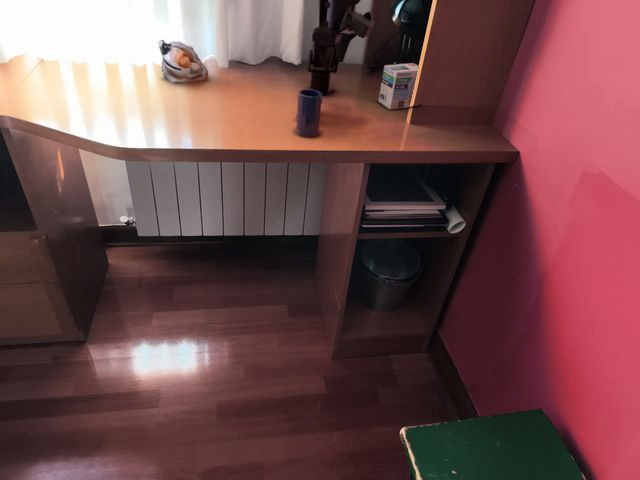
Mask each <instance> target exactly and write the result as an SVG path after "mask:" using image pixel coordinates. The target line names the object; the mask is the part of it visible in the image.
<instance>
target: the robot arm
mask: <svg viewBox="0 0 640 480" xmlns="http://www.w3.org/2000/svg"><path fill="white" fill-rule="evenodd" d="M361 1H362V0H317V1H316V2H317V3H316V4H317V6H316V9H317V10H316V27H315V28H313V29H312V31H311V32H310V42H311V43H310V49H309V50H308V53H307V55H306V65H305V66H306V70H307V72H308V73H311V74H310V86H309V87H307V88H306V89H314V90H318V91H320V92H321V93H322V96H327V95H328V94H329V93H331V92H332V91H334V88H333V87H330V83H331V74H336V73H337V72H338V68H339V63H344V60H345V57H346V56H347V55H346V54H347V51H348V49H349V47H350V45H351V42H352V40H353V39H355V38H356V37H359V38H361V39H365V38H366V37H369V35H370V33H371V31H372V29H373V28H374V27H375V20H374V13H372V12H370V11H366V12H365V13H363V14H362V12H360V13H359V12H358V11H356V8H357V7H356V6H357V5H358V4H359V3H360V2H361Z"/></svg>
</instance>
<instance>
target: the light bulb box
mask: <svg viewBox="0 0 640 480" xmlns="http://www.w3.org/2000/svg"><path fill="white" fill-rule="evenodd" d="M418 66H419V65H418V64H416V63H414V62H411V63H399V64H385V65H384V66H383V72H382V78H381V83H380V88H379V89H380V90H379V95H378V101H377V102H378V103H380V104H381V105H383V106H384V107H386V108H387V109H388V110H398V109H408V108H411V107H410V102H411V98H412V94H413V89H414V84H415V80H416V76H417V71H418Z"/></svg>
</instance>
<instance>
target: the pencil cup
mask: <svg viewBox="0 0 640 480" xmlns="http://www.w3.org/2000/svg"><path fill="white" fill-rule="evenodd" d="M322 96H323V95H322V93H321V92H320V91H318V90H314V89H307V88H301V89H300V90H298V91H297V112H296V114H297V119H296V131H295V132H296V134H297V135H299V136H300V137H305V138H313V137H317V136H318V135H319V132H320V122H321V121H320V120H321V109H322V103H321V100H322Z"/></svg>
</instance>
